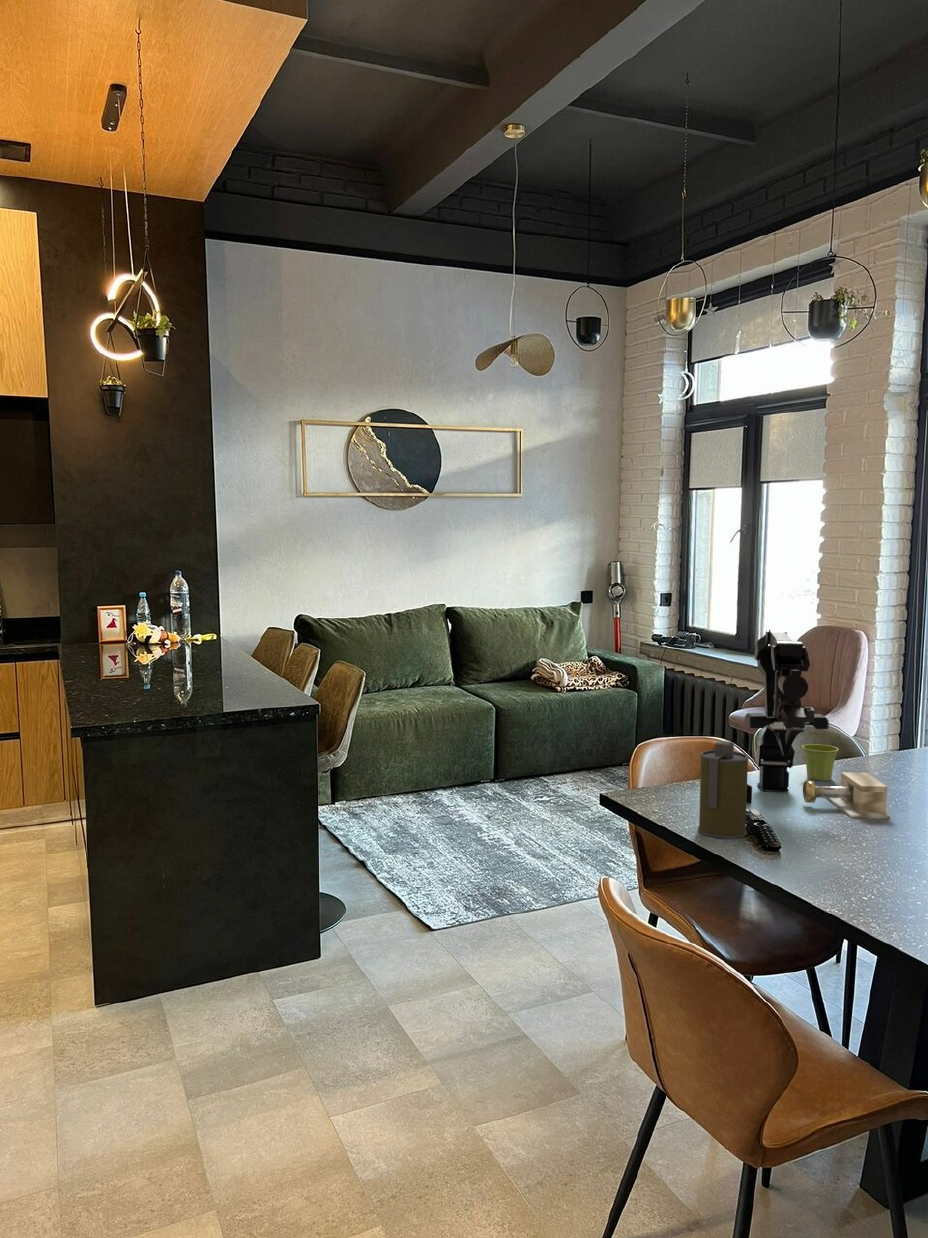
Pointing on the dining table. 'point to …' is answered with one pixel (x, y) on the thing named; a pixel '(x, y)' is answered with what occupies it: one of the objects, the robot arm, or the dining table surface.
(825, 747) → the plant pot
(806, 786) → the door knob
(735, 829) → the canister
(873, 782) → the block
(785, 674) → the robot arm
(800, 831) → the dining table surface
